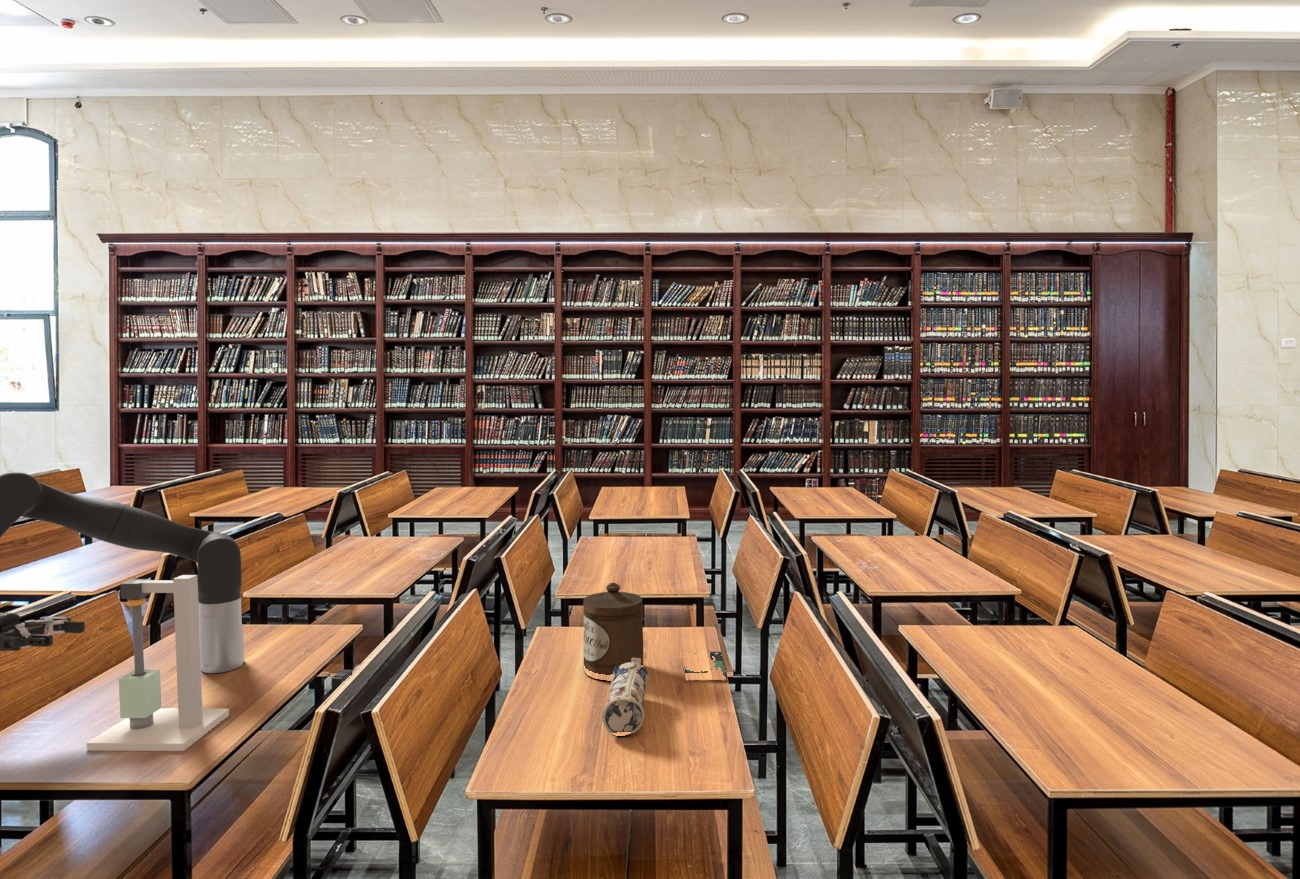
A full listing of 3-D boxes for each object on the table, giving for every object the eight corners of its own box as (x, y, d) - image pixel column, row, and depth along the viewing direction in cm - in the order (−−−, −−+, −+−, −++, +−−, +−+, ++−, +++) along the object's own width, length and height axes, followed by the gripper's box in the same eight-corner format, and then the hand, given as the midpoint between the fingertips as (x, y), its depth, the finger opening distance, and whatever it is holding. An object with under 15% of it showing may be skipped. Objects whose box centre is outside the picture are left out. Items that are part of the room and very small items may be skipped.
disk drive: (681, 661, 199) (684, 683, 184) (681, 651, 198) (685, 671, 184) (721, 661, 199) (728, 683, 184) (721, 650, 199) (728, 671, 184)
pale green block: (137, 707, 158) (135, 669, 157) (161, 707, 158) (159, 669, 157) (120, 718, 153) (118, 678, 152) (145, 718, 153) (143, 679, 152)
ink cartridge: (342, 713, 165) (341, 677, 164) (332, 713, 165) (331, 677, 164) (353, 703, 170) (352, 668, 169) (344, 703, 170) (343, 668, 169)
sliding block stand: (142, 714, 164) (136, 567, 161) (229, 715, 164) (224, 567, 161) (87, 750, 148) (79, 586, 145) (183, 751, 148) (176, 587, 145)
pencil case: (611, 697, 174) (611, 655, 174) (649, 698, 174) (649, 656, 173) (601, 742, 152) (601, 694, 152) (644, 743, 152) (644, 695, 151)
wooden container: (575, 665, 194) (575, 579, 193) (630, 657, 200) (630, 574, 198) (594, 686, 181) (594, 594, 179) (652, 677, 186) (653, 587, 185)
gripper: (-46, 623, 147) (39, 626, 147) (16, 603, 161) (93, 605, 161) (-45, 662, 147) (40, 664, 147) (16, 638, 162) (94, 640, 162)
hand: (68, 633), depth 154 cm, fingers open, 8 cm apart
